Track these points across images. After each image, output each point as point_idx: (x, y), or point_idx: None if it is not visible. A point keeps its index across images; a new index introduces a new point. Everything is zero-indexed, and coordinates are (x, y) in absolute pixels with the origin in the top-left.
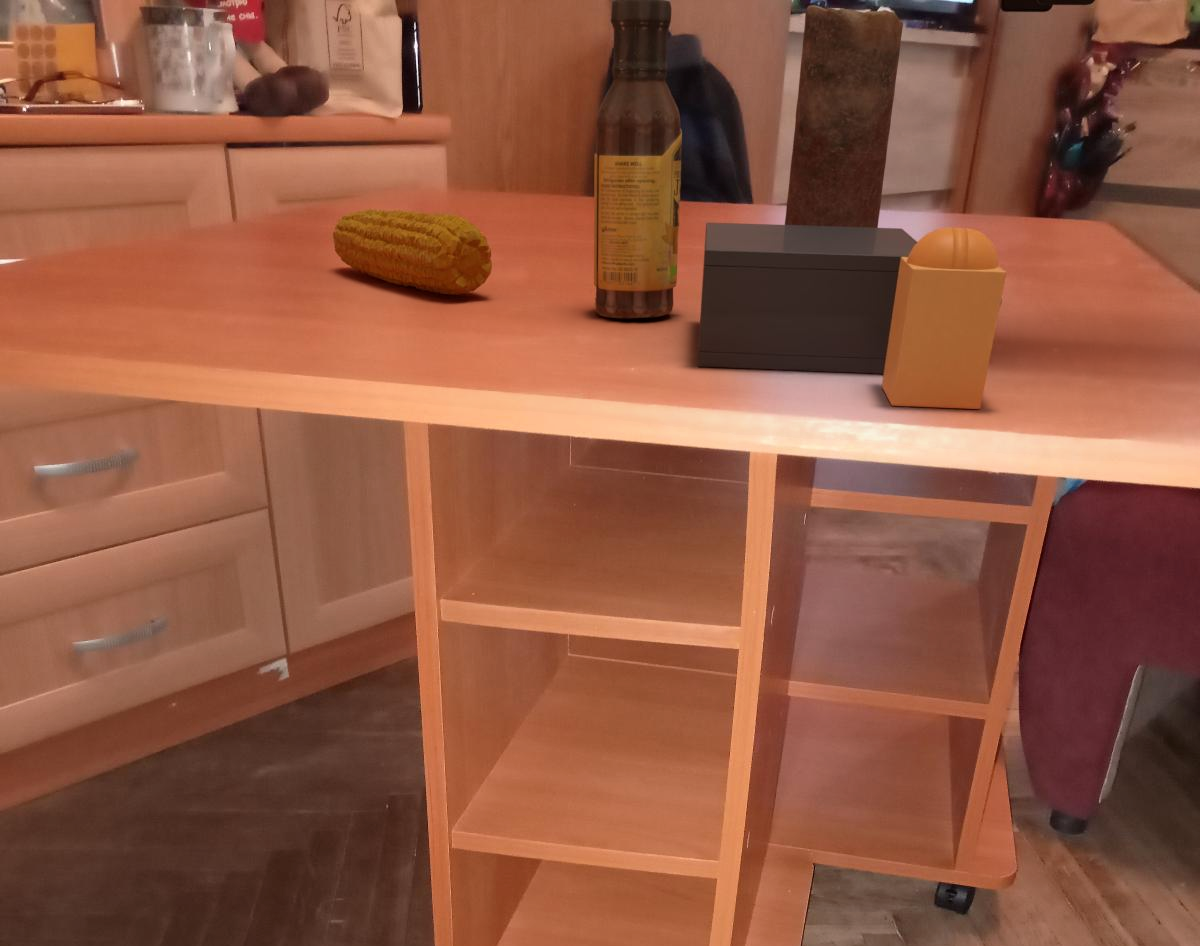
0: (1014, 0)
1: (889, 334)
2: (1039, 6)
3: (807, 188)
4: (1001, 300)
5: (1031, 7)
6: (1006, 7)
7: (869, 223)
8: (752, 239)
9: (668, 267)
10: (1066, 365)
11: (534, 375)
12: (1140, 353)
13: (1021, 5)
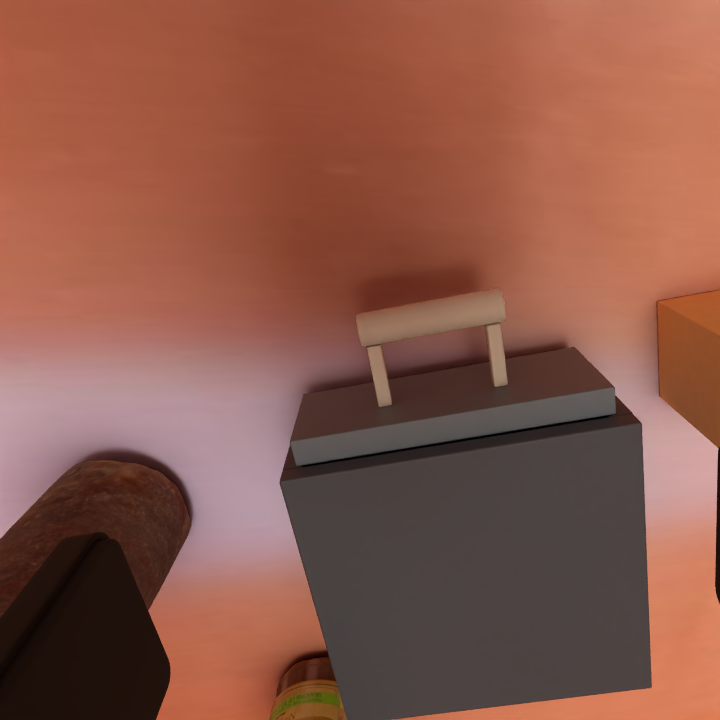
0: (151, 668)
1: (690, 423)
2: (129, 575)
3: None
4: (500, 290)
5: (138, 597)
6: (168, 668)
7: (99, 529)
8: (525, 654)
9: (342, 706)
10: (453, 158)
11: (672, 701)
12: (312, 24)
13: (147, 632)
